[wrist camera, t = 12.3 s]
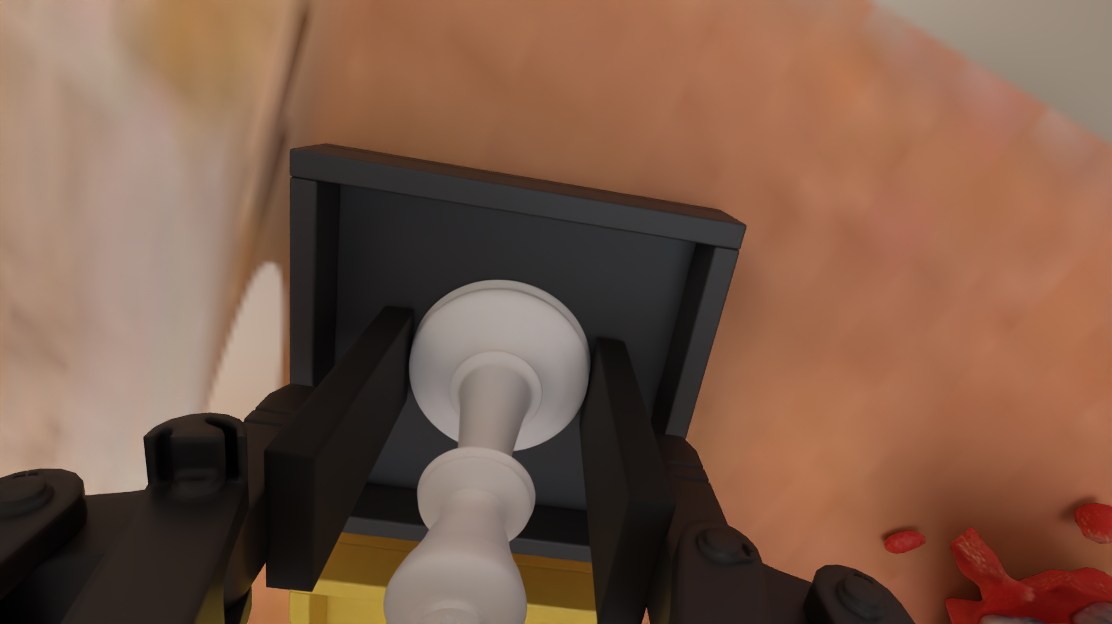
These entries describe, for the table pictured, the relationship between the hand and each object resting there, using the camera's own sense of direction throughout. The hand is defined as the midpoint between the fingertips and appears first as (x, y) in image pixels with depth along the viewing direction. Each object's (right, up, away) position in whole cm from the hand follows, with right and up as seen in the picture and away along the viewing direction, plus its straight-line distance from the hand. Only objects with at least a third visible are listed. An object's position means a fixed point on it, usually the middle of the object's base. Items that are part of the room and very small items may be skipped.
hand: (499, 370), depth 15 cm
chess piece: (0, 0, 0) cm, 0 cm away
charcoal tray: (0, 0, +1) cm, 1 cm away
